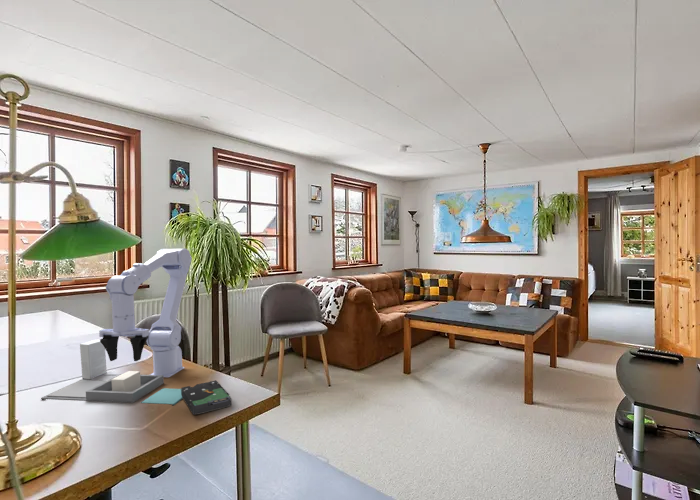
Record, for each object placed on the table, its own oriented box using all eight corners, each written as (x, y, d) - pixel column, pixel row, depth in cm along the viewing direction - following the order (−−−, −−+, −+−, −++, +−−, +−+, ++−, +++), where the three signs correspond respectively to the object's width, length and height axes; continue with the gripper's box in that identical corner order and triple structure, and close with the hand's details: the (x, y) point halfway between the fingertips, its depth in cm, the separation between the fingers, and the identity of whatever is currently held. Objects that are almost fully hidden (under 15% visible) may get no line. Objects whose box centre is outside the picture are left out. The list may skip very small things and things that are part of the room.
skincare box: (98, 372, 135) (96, 339, 134) (107, 373, 133) (105, 339, 133) (81, 378, 129) (79, 343, 129) (90, 379, 128) (88, 344, 127)
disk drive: (180, 397, 111) (193, 416, 99) (180, 387, 111) (193, 405, 99) (216, 388, 117) (232, 405, 105) (216, 379, 117) (232, 395, 105)
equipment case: (80, 381, 126) (80, 372, 126) (163, 384, 122) (163, 375, 122) (41, 399, 113) (40, 389, 112) (133, 403, 108) (132, 393, 108)
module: (129, 386, 120) (128, 371, 120) (140, 387, 119) (139, 371, 119) (112, 396, 113) (111, 379, 113) (124, 396, 113) (123, 379, 112)
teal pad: (163, 389, 118) (163, 388, 118) (193, 390, 116) (193, 389, 116) (141, 404, 108) (141, 402, 108) (173, 405, 107) (173, 403, 107)
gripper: (90, 318, 111) (92, 364, 111) (137, 318, 110) (139, 364, 110) (108, 313, 118) (110, 356, 118) (152, 313, 117) (154, 357, 117)
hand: (125, 360), depth 115 cm, fingers open, 7 cm apart
